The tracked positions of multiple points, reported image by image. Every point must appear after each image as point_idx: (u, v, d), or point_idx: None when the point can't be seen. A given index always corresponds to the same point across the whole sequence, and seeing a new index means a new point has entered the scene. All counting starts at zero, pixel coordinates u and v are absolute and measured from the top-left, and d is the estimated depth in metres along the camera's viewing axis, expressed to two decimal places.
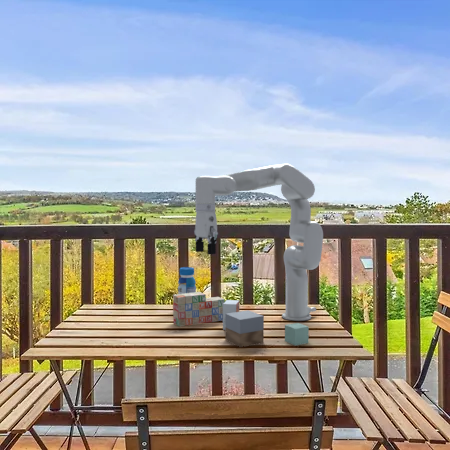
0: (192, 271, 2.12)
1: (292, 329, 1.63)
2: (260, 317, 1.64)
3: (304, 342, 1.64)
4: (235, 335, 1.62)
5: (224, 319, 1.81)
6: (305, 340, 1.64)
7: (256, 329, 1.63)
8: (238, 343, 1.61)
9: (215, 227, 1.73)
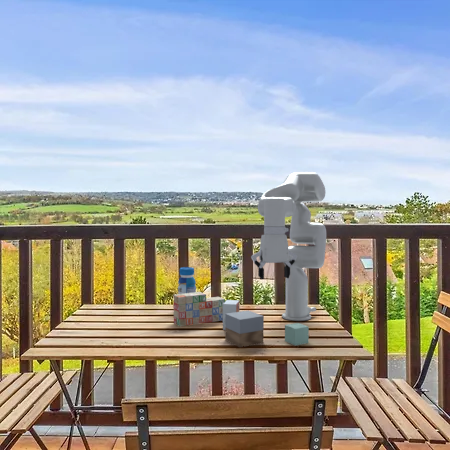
0: (192, 271, 2.12)
1: (292, 329, 1.63)
2: (260, 317, 1.64)
3: (304, 342, 1.64)
4: (235, 335, 1.62)
5: (224, 319, 1.81)
6: (305, 340, 1.64)
7: (256, 329, 1.63)
8: (238, 343, 1.61)
9: None
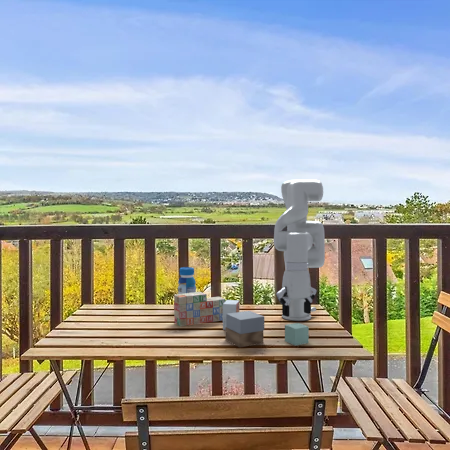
0: (192, 271, 2.12)
1: (292, 329, 1.63)
2: (261, 317, 1.63)
3: (304, 342, 1.64)
4: (234, 335, 1.62)
5: (224, 319, 1.81)
6: (305, 340, 1.64)
7: (257, 329, 1.63)
8: (238, 343, 1.61)
9: None
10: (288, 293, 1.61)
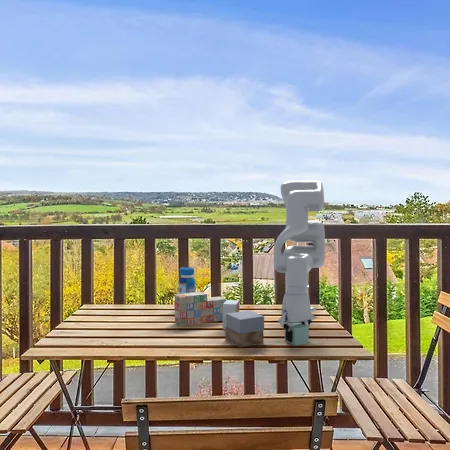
0: (192, 271, 2.12)
1: (292, 329, 1.63)
2: (260, 317, 1.63)
3: (304, 342, 1.64)
4: (234, 335, 1.62)
5: (224, 319, 1.81)
6: (305, 340, 1.64)
7: (256, 329, 1.63)
8: (238, 343, 1.61)
9: None
10: (288, 317, 1.62)
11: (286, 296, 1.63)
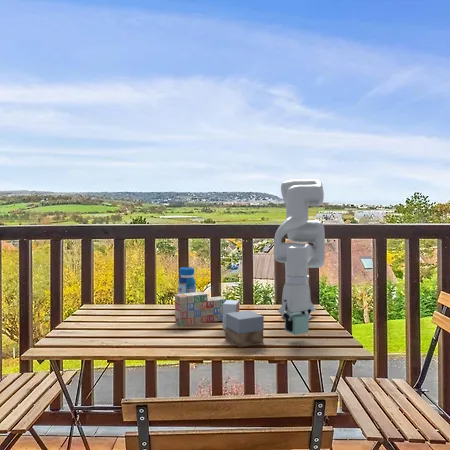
0: (192, 271, 2.12)
1: (292, 318, 1.63)
2: (260, 317, 1.64)
3: (304, 331, 1.64)
4: (234, 335, 1.62)
5: (224, 319, 1.81)
6: (305, 329, 1.64)
7: (256, 329, 1.63)
8: (237, 343, 1.61)
9: None
10: (288, 307, 1.62)
11: (286, 286, 1.63)
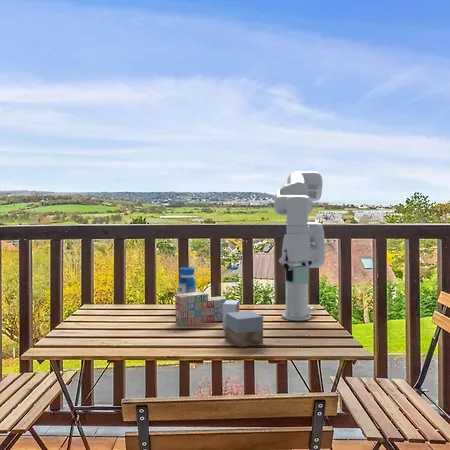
0: (192, 271, 2.12)
1: (292, 269, 1.62)
2: (259, 317, 1.63)
3: (304, 282, 1.63)
4: (234, 335, 1.62)
5: (224, 319, 1.81)
6: (305, 280, 1.63)
7: (255, 329, 1.63)
8: (237, 343, 1.61)
9: None
10: (288, 256, 1.61)
11: (286, 236, 1.62)
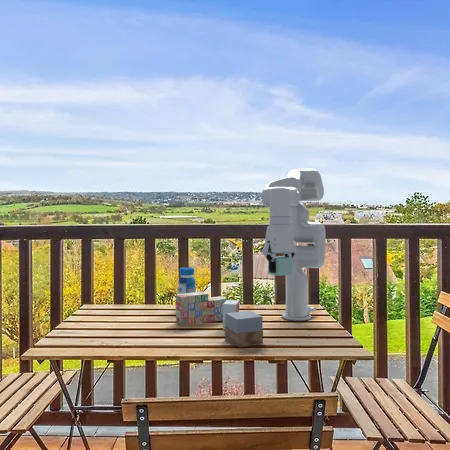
0: (192, 271, 2.12)
1: (275, 260, 1.62)
2: (259, 318, 1.63)
3: (287, 273, 1.63)
4: (234, 335, 1.62)
5: (224, 319, 1.81)
6: (288, 271, 1.63)
7: (254, 329, 1.63)
8: (237, 343, 1.61)
9: None
10: (271, 247, 1.61)
11: (269, 227, 1.62)
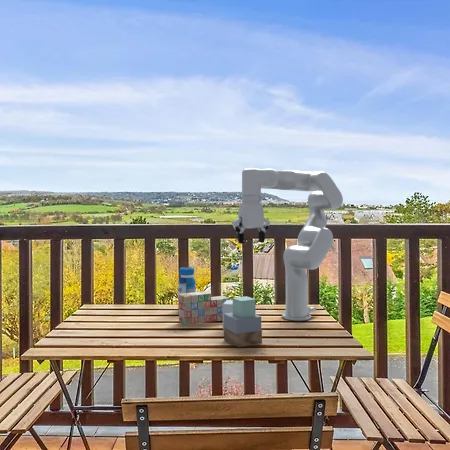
0: (192, 271, 2.12)
1: (238, 301, 1.63)
2: (257, 318, 1.63)
3: (251, 314, 1.64)
4: (233, 335, 1.62)
5: None
6: (252, 313, 1.64)
7: (253, 330, 1.63)
8: (236, 343, 1.61)
9: None
10: (242, 222, 1.79)
11: (241, 204, 1.80)
